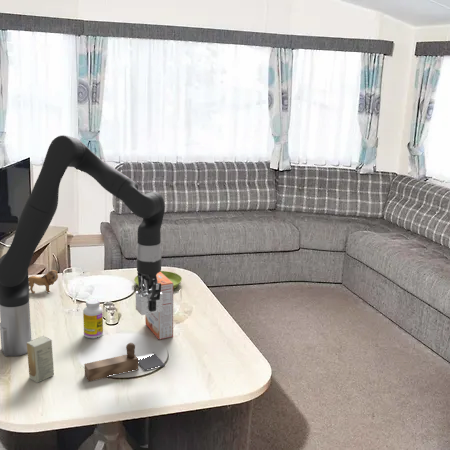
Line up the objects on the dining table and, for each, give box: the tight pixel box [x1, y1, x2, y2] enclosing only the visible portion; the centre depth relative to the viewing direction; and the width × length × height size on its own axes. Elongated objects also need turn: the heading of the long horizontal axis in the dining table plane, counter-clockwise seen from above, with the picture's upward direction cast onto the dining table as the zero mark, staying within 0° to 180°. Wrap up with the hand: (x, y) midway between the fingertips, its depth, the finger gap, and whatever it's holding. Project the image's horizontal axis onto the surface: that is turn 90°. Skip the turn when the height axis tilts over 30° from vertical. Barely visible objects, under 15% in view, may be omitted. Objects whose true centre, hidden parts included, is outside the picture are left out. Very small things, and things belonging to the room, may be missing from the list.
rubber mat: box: [138, 353, 166, 371], centre depth 191 cm, size 7×9×1 cm
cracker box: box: [144, 272, 174, 340], centre depth 211 cm, size 14×6×21 cm, turn 27°
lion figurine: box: [28, 269, 59, 294], centre depth 245 cm, size 15×5×9 cm, turn 107°
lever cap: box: [135, 289, 163, 316], centre depth 186 cm, size 7×5×7 cm
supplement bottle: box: [82, 298, 104, 339], centre depth 207 cm, size 7×7×13 cm
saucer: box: [133, 270, 183, 290], centre depth 257 cm, size 21×21×3 cm
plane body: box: [83, 342, 139, 382], centre depth 183 cm, size 16×4×9 cm, turn 120°
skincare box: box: [26, 335, 55, 384], centre depth 179 cm, size 6×4×12 cm
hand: (149, 307), depth 186 cm, fingers closed on lever cap, 5 cm apart
